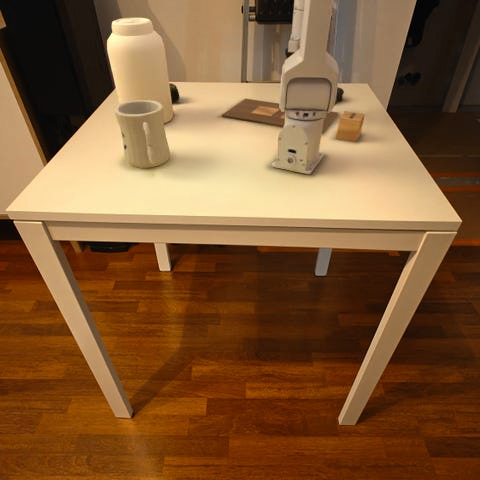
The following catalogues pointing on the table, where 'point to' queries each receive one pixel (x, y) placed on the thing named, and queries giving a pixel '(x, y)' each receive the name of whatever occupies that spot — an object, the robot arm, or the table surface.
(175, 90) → the tape measure
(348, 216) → the table surface
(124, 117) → the mug
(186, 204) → the table surface
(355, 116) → the wooden cube
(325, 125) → the word mat
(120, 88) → the white bottle
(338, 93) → the game controller
